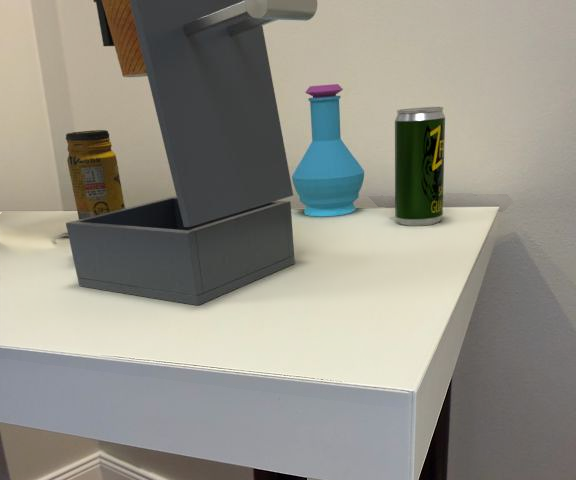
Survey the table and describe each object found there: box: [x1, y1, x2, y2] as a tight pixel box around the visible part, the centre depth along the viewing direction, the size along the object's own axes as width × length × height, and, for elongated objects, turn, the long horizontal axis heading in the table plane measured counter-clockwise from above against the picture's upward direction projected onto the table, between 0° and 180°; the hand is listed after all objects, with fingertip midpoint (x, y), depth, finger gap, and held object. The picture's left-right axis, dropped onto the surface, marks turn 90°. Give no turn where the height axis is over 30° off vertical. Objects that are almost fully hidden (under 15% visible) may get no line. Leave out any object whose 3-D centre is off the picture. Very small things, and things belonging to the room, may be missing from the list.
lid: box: [129, 0, 318, 227], centre depth 50 cm, size 16×14×9 cm
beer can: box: [394, 106, 446, 227], centre depth 73 cm, size 5×5×12 cm
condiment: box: [59, 129, 126, 237], centre depth 83 cm, size 7×8×12 cm
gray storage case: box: [65, 196, 296, 306], centre depth 60 cm, size 15×14×6 cm
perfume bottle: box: [291, 83, 365, 217], centre depth 82 cm, size 9×9×15 cm
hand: (156, 39), depth 53 cm, fingers closed on disposable coffee cup, 8 cm apart
